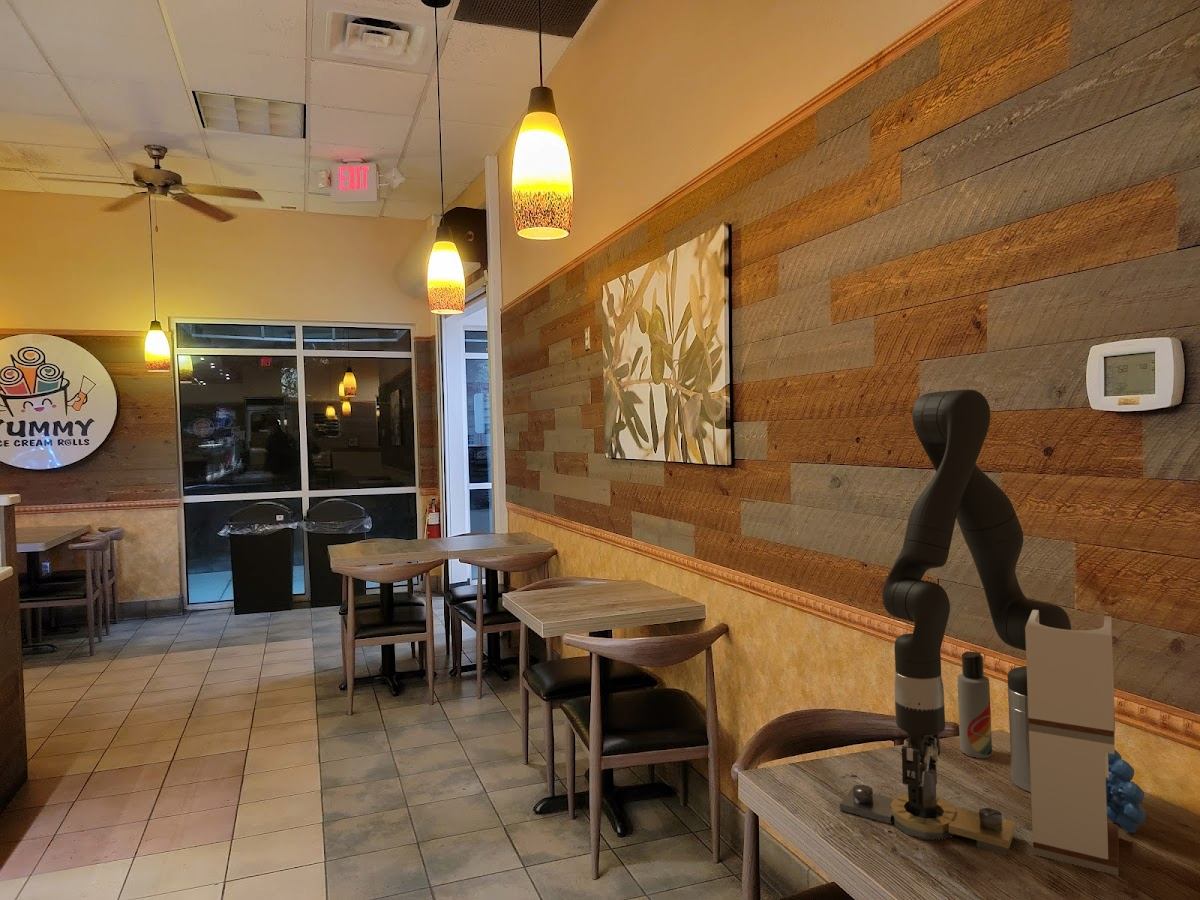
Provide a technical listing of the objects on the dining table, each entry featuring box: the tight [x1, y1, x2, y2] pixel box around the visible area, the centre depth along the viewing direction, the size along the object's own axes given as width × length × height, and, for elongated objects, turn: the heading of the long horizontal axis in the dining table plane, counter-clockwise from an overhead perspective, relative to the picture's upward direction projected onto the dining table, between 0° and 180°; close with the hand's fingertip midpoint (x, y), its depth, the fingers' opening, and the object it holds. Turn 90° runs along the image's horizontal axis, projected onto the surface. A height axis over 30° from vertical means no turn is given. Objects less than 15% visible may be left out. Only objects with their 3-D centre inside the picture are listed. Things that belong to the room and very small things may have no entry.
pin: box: [911, 763, 937, 818], centre depth 124 cm, size 4×4×9 cm
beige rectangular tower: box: [1025, 610, 1120, 877], centre depth 115 cm, size 11×11×35 cm
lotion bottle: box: [956, 651, 993, 759], centre depth 148 cm, size 6×6×20 cm
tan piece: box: [839, 784, 1017, 856], centre depth 124 cm, size 10×26×4 cm, turn 53°
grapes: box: [1106, 749, 1147, 834], centre depth 120 cm, size 12×7×12 cm, turn 178°
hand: (923, 795), depth 124 cm, fingers open, 8 cm apart
